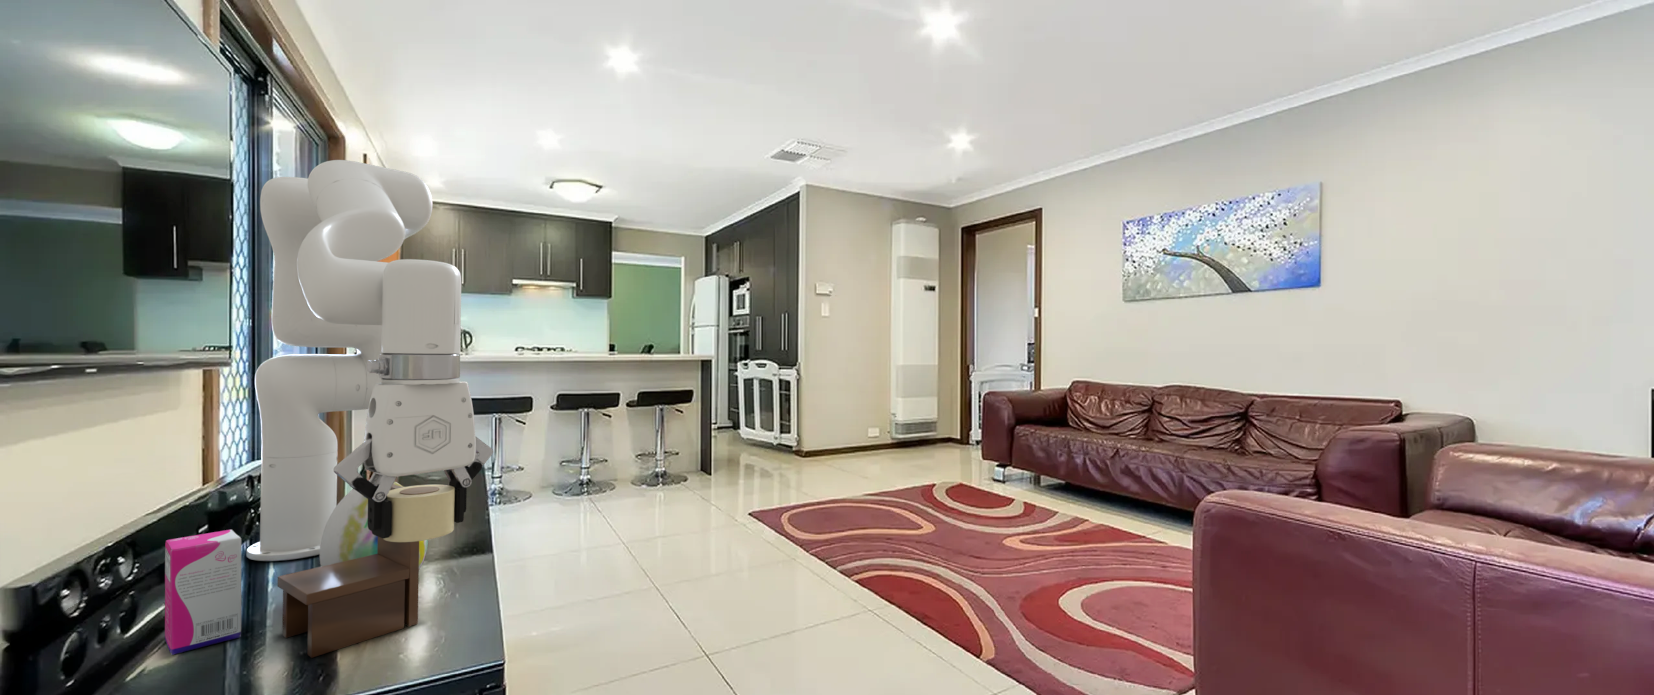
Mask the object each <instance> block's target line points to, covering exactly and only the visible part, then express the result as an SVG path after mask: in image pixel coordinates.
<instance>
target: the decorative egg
mask: <svg viewBox="0 0 1654 695" xmlns="http://www.w3.org/2000/svg"><path fill="white" fill-rule="evenodd" d="M367 480H368V481H369V480H370V479H367ZM393 484H395V485H398V486H402V487H404V485H402V484H400V483H398V482H397V481H395V482H394V483H393ZM428 543H429V540H423V541H419V570H421V568H422V565H423V563H424V561H425V558H426V556H427V550H428V545H429V544H428ZM377 551H378V536H375V535H373V534H372V531H370V530H369V529H368V499H367V498H365V497H364V496H363V495H362V494H360V493H359V492H357V491H356V490H355V489H353V488H352V489H351V490H350V491H349V492H347V494H345V495H344V496H343V497H342V498H341V500H340V501H339V502H338V503H337V504H336V508H335V509H334V510H333V512H332V514H331V515H330V517H329V519H328V521H327V524H326V526H325V529H324V531H323V535H322V539H321V544H320V554H319V564H320V567H321V566H326V565H330V564H335V563H339V562H343V561H348V560H352V559H357V558H361V557H365V556H370V555H374V554H377Z"/></svg>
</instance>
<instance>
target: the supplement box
mask: <svg viewBox="0 0 1654 695" xmlns="http://www.w3.org/2000/svg"><path fill="white" fill-rule="evenodd" d="M164 544H165V545H164V546H165V547H164V589H165V590H164V640H165V643H166V645H167V648H168V650H169V653H170V655H171V656H173V655H177V654H180V653H185V652H188V651H192V650H196V649H199V648H200V649H201V648H204V647H207V646H212V645H215V644H220V643H224V642H227V641H231V640H234V639H235V640H236V639H238V638H241V637H242V538H241V536H240V535H238V534H237V533H236V532H235V531H234V530H233V529H226V530H225V529H224V530H220V531H214V532H208V533H201V534H196V535H189V536H184V537H183V536H182V537H178V538H170V539H167V540H165V543H164Z"/></svg>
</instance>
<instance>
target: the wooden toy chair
mask: <svg viewBox="0 0 1654 695" xmlns="http://www.w3.org/2000/svg"><path fill="white" fill-rule="evenodd" d="M402 486H403V485H402ZM402 486H398V485H395V484H393V485H392V487H391V489H390V490H393V489H397V488H402ZM419 574H420V569H419V541H415V542H390V541H386V540H384V539H383V538H380V537H378V551H377V554H374V555H370V556H365V557H361V558H357V559H352V560H348V561H343V562H339V563H335V564H330V565H326V566H321V565H320V566H317V567H313V568H309V569H304V570H300V571H295V572H290V573H286V574H283V575H279V576H277V587H278V588H280V590H282V628H281V629H282V631H281V632H282V634H281V635H282V636H283V638H285V639H287V638H291V637H294V636H297V635H298V636H299V635H302V634H304V633H307V656H308V657H310V658H311V659H312V658H313V659H314V658H315V657H319V656H321V655H324V654H328V653H331V652H335V651H337V650H341V649H343V648H347V647H349V646H353V645H356V644H359V643H361V642H365V641H368V640H372V639H375V638H378V637H380V636H384V635H387V634H390V633H393V632H396V631H399V630H402V629H404V628H405V625H406V626H407V627H411V626H415V625H418V623H419V584H420V583H419V581H420V580H419V578H420V576H419Z"/></svg>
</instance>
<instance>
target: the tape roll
mask: <svg viewBox="0 0 1654 695" xmlns="http://www.w3.org/2000/svg"><path fill="white" fill-rule="evenodd" d="M454 497H455V488H454V487H453V486H449V484H438V483H437V484H417V485H409V486H403V487H402V488H397V489H393V490H390V491H389V493H388V495H387V500H390V501H391V502H392V534H391V536H390V537H388V538H384V540H386V541H390V542H415V541H423V540H428V541H429V540H433V539H438V538H442V537H444V536H447V535H449V534H451V533H453V532H454V530H455V522H454Z"/></svg>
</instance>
